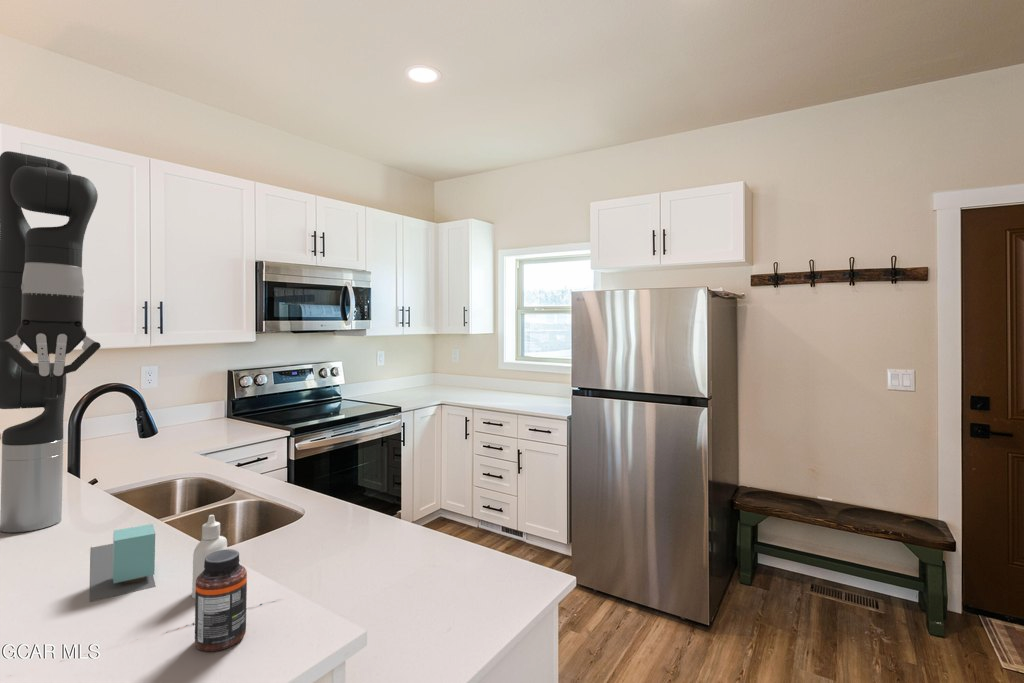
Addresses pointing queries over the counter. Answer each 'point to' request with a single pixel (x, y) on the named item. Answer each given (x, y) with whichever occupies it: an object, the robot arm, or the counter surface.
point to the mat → (110, 576)
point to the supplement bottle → (220, 601)
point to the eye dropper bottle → (207, 547)
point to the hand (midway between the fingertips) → (51, 398)
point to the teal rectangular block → (133, 553)
